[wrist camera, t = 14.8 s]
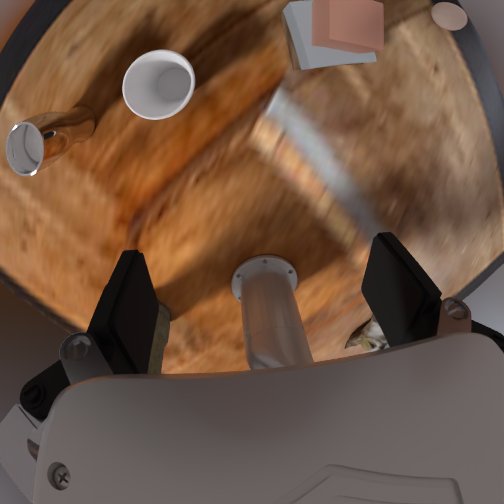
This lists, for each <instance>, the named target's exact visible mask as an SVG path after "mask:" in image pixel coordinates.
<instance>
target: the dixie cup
mask: <svg viewBox="0 0 504 504" xmlns="http://www.w3.org/2000/svg"><path fill="white" fill-rule="evenodd" d="M194 87H195V74H194V71H193V68H192V66H191V64H190V63H189V61H188V60H187V59H186V58H185V57H183V56H182V55H181V54H179V53H177V52H174V51H171V50H155V51H151V52H148V53H146V54H144V55H142V56H140V57H139V58H138V59H136V60H135V61H134V62H133V63H132V64H131V66H130V67H129V68H128V70H127V72H126V74H125V77H124V80H123V86H122V90H123V96H124V100H125V102H126V104H127V105H128V107H129V108H130V109H131V110H132V111H133V112H134V113H135V114H137V115H139V116H140V117H143V118H146V119H153V120H157V119H164V118H168V117H170V116H172V115H174V114H176V113H178V112H179V111H180V110H181V109H183V108H184V107H185V106H186V104H187V103H188V102H189V100H190V98H191V96H192V94H193V91H194Z"/></svg>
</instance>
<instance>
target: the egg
mask: <svg viewBox="0 0 504 504" xmlns="http://www.w3.org/2000/svg"><path fill="white" fill-rule="evenodd" d="M431 16H432V18H433V20H434V21H435V23H436V24H437V25H439V26H440V27H442V28H444V29H447V30H459V29H461V28H463V27H464V26H465V25H466V23H467V15H466V13H465V12H464V10H463V9H462V8H460V7H459V6H457V5H455V4H452V3H449V2H441V3H437V4H435V5H434V6H433V8H432V10H431Z"/></svg>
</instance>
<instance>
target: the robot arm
mask: <svg viewBox="0 0 504 504" xmlns="http://www.w3.org/2000/svg"><path fill="white" fill-rule="evenodd" d="M297 282H298V280H297V274H296V271H295V269H294V267H293V266H292V264H291V263H289V262H288V261H287V260H285V259H283V258H281V257H278V256H274V255H261V256H256V257H253V258H250V259H248V260H246V261H245V262H243V263H242V264H241V265H239V266H238V268H237V269H236V270H235V272H234V273H233V275H232V279H231V288H232V292H233V295H234V296H235V298H236V299H237V300H238V301H239V302H241V310H242V321H243V332H244V343H245V353H246V360H247V363H248V365H249V367H250V369H251V370H245V371H232V372H215V373H186V374H147V373H148V367H149V361H150V355H151V349H152V344H153V338H154V333H155V328H156V322H157V318H158V313H159V304H158V300H157V297H156V294H155V291H154V288H153V285H152V282H151V278H150V275H149V272H148V268H147V265H146V261H145V258H144V255H143V253H139V251H138V250H125V251H123V252H122V254H121V256H120V258H119V261H118V263H117V265H116V267H115V269H114V271H113V273H112V276H111V278H110V280H109V282H108V284H107V285H106V286H105V288H104V290H103V293H102V295H101V297H100V300H99V302H98V304H97V307H96V309H95V312H94V314H93V317H92V319H91V322H90V324H89V327H88V329H87V332H86V333H85V332H78V333H74V334H72V335H70V336H69V337H68V338H66V339H65V341H64V342H63V343H62V345H61V347H60V351H59V355H60V360H59V361H57V362H56V363H54V364H53V365H52V366H50V367H49V368H47V369H46V370H44V371H43V372H42V373H40V374H38V375H37V376H36V377H34V378H33V379H31V380H30V381H28V382H27V383H26V384H25V385H24V387H23V388H22V391H21V394H20V403H21V404H20V405H19V406H18V405H15V406H14V407H13V408H12V410H11V411H10V412H9V413H8V415H7V416H6V417H5V418H4V420H3V421H2V422H1V424H0V463H1V465H2V466H3V467H4V469H5V470H6V472H7V473H8V475H9V476H10V477H11V479H12V480H13V481H14V483H15V484H16V485H17V487H18V488H19V489H20V490H21V492H22V493H23V494H24V495H25V497H26V498H27V499H28V500H29V501H30V502H31V504H504V336H503V335H502V334H501V333H499V332H497V331H495V330H493V329H491V328H489V327H486V326H484V325H482V324H480V323H478V322H475V321H473V320H471V311H470V309H469V307H468V306H467V305H466V304H465V303H464V302H463V301H461V300H459V299H457V298H454V297H448V298H445V299H444V300H443V301H442V300H441V299H440V297H441V295H442V293H441V291H440V290H439V289H438V287H437V286H436V285H435V284H434V282H433V281H432V280H431V278H430V277H429V276H428V275H427V273H426V272H425V271H424V270H423V268H422V267H421V266H420V265H419V263H418V262H417V261H416V260H415V259H414V257H413V256H412V255H411V254H410V253H409V252H408V250H407V249H406V248H405V247H404V246H403V245H402V243H401V242H400V241H399V240H398V239H397V238H396V237H395V236H394V234H393V233H391V232H382V233H378V234H377V236H375V237H374V238H373V242H372V246H371V251H370V255H369V259H368V263H367V267H366V271H365V275H364V279H363V282H362V287H361V289H362V293H363V295H364V297H365V299H366V301H367V303H368V305H369V307H370V309H371V311H372V312H373V314H374V316H375V318H376V320H377V322H378V324H379V326H380V328H381V330H382V332H383V334H384V336H385V338H386V340H387V342H388V344H389V346H390V348H386V349H382V350H377V351H373V352H368V353H363V354H358V355H353V356H348V357H343V358H337V359H332V360H326V361H320V362H314V360H313V358H312V354H311V351H310V348H309V344H308V341H307V337H306V334H305V330H304V327H303V323H302V320H301V316H300V313H299V309H298V306H297V303H296V299H295V296H294V291H295V289H296V287H297Z"/></svg>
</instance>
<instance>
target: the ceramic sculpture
mask: <svg viewBox="0 0 504 504" xmlns="http://www.w3.org/2000/svg"><path fill="white" fill-rule="evenodd" d="M358 344H361V345H362V347H363V348H364V349H365V350H366V351H370V352H373V351H377V350H380V349H381V350H382V349H384V348H385V346H386V345H387V344H388V342H387V340H386V338H385V336H384V334H383V332H382V330H381V328H380V326H379V324H378V322H377V320H376V318H375V316H374V314H372V319H371V321H370V322H369V323H368V324H367V325H366V326H365V327H364V328H363V329H362V330H361V331H358V332H357V333H355V334H353V335H352V336H351V337H350V338H349V339H348V341H347V343H346V345H345V349H346V348H348V347H350V346H356V345H358Z"/></svg>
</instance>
